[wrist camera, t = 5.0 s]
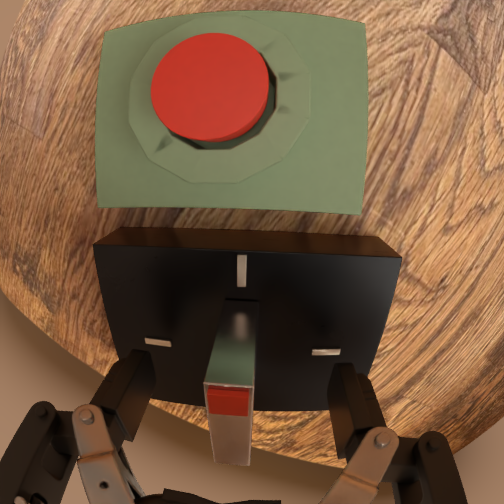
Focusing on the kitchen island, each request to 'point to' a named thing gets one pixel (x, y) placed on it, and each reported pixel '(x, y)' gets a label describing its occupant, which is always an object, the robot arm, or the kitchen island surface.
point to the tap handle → (232, 382)
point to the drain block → (254, 140)
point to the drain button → (210, 87)
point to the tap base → (247, 289)
